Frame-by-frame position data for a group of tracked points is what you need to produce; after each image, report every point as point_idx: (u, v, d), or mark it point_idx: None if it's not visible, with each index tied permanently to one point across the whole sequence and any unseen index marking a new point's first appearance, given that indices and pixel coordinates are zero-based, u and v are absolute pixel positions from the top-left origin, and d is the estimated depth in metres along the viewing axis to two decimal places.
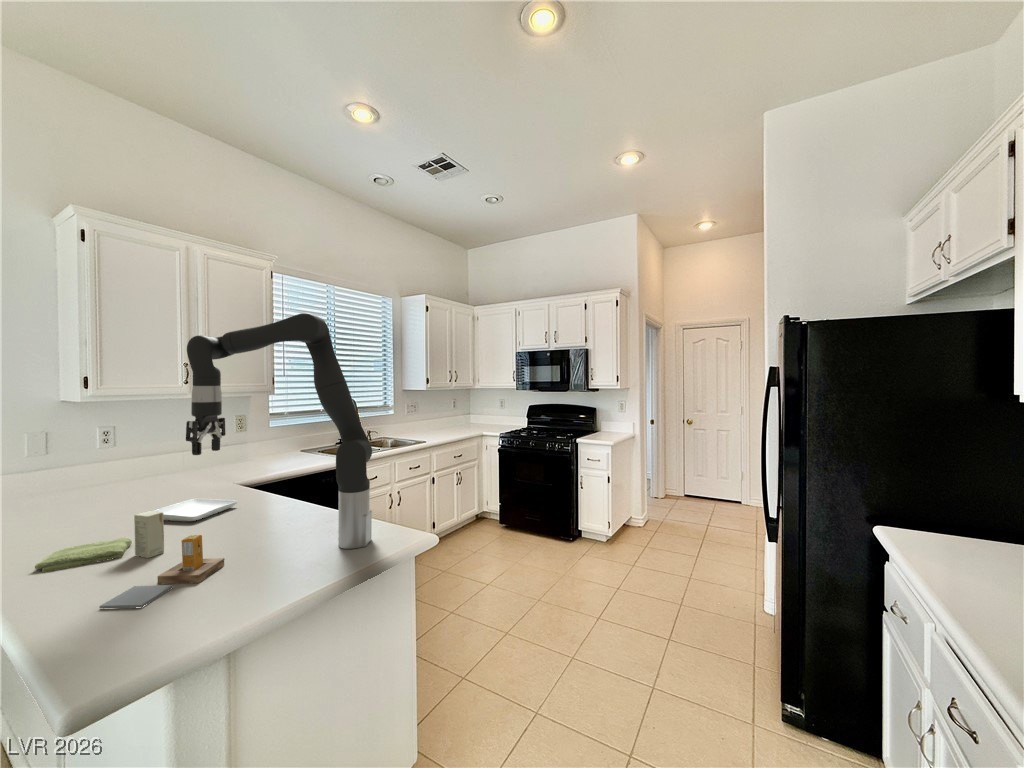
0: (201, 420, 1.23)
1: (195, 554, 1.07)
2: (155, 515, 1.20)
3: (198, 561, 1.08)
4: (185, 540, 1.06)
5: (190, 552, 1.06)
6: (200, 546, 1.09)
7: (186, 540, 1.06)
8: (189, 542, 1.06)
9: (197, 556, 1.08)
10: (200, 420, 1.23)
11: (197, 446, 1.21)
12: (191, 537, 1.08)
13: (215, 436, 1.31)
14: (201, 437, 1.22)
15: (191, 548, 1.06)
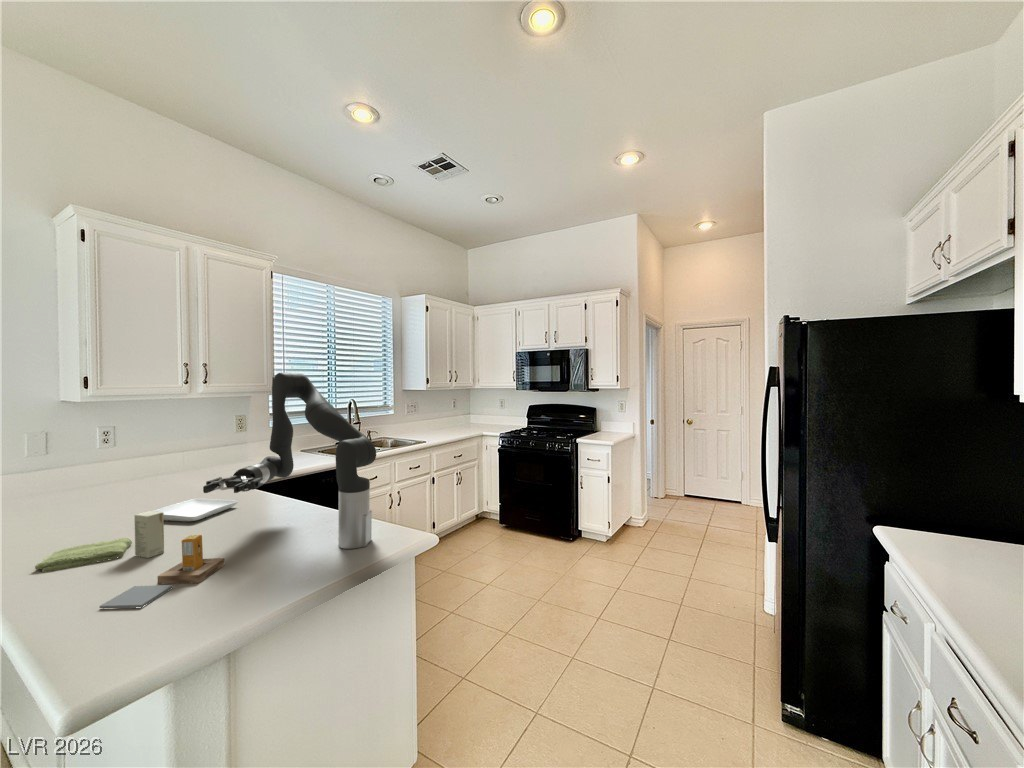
0: None
1: (195, 554, 1.07)
2: (155, 515, 1.20)
3: (198, 561, 1.08)
4: (185, 540, 1.06)
5: (190, 552, 1.06)
6: (200, 546, 1.09)
7: (186, 540, 1.06)
8: (189, 542, 1.06)
9: (197, 556, 1.08)
10: None
11: None
12: (191, 537, 1.08)
13: None
14: (217, 481, 1.24)
15: (191, 548, 1.06)
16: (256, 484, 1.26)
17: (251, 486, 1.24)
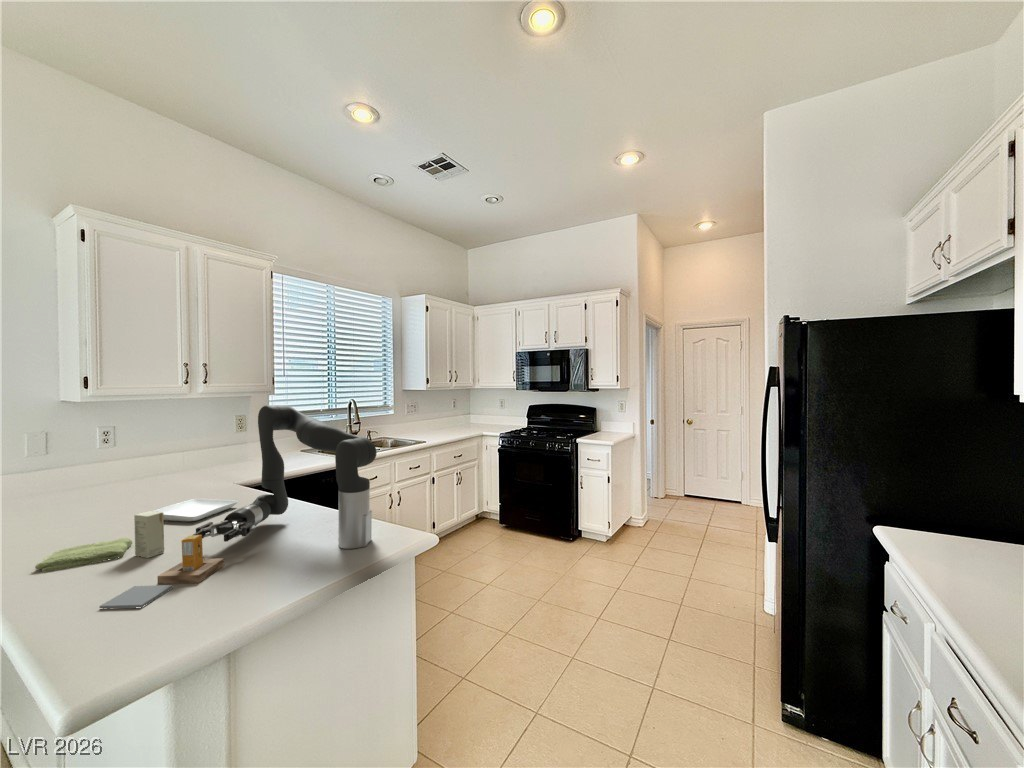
0: None
1: (195, 554, 1.07)
2: (155, 515, 1.20)
3: (198, 561, 1.08)
4: (185, 540, 1.06)
5: (190, 552, 1.06)
6: (200, 546, 1.09)
7: (186, 540, 1.06)
8: (189, 542, 1.06)
9: (197, 556, 1.08)
10: None
11: None
12: (191, 537, 1.08)
13: None
14: (207, 527, 1.20)
15: (191, 548, 1.06)
16: (248, 530, 1.22)
17: (242, 533, 1.19)
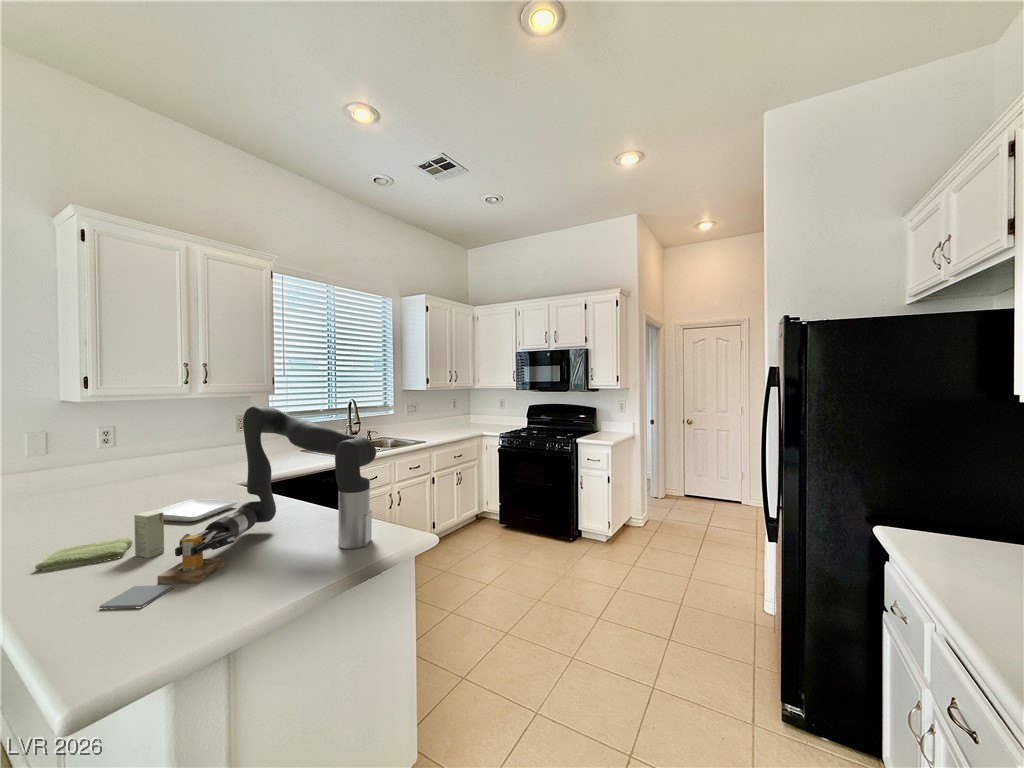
0: None
1: None
2: (155, 515, 1.20)
3: (198, 561, 1.08)
4: (185, 540, 1.06)
5: (190, 552, 1.06)
6: None
7: (186, 540, 1.06)
8: (190, 542, 1.06)
9: (198, 556, 1.08)
10: None
11: (181, 546, 1.08)
12: (191, 537, 1.08)
13: None
14: None
15: None
16: (221, 542, 1.12)
17: (212, 546, 1.10)
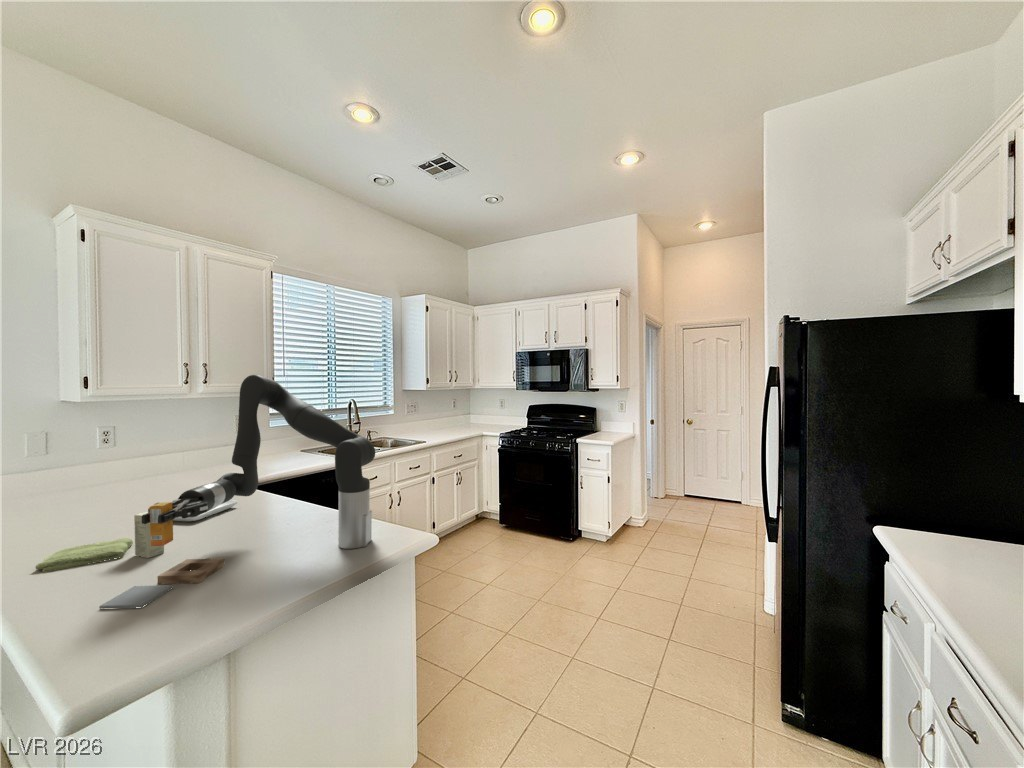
0: None
1: None
2: None
3: (167, 530, 1.01)
4: (153, 507, 1.00)
5: None
6: None
7: (154, 507, 1.00)
8: (157, 509, 1.00)
9: (166, 525, 1.01)
10: None
11: None
12: (160, 504, 1.01)
13: None
14: None
15: None
16: (193, 511, 1.05)
17: (182, 514, 1.03)
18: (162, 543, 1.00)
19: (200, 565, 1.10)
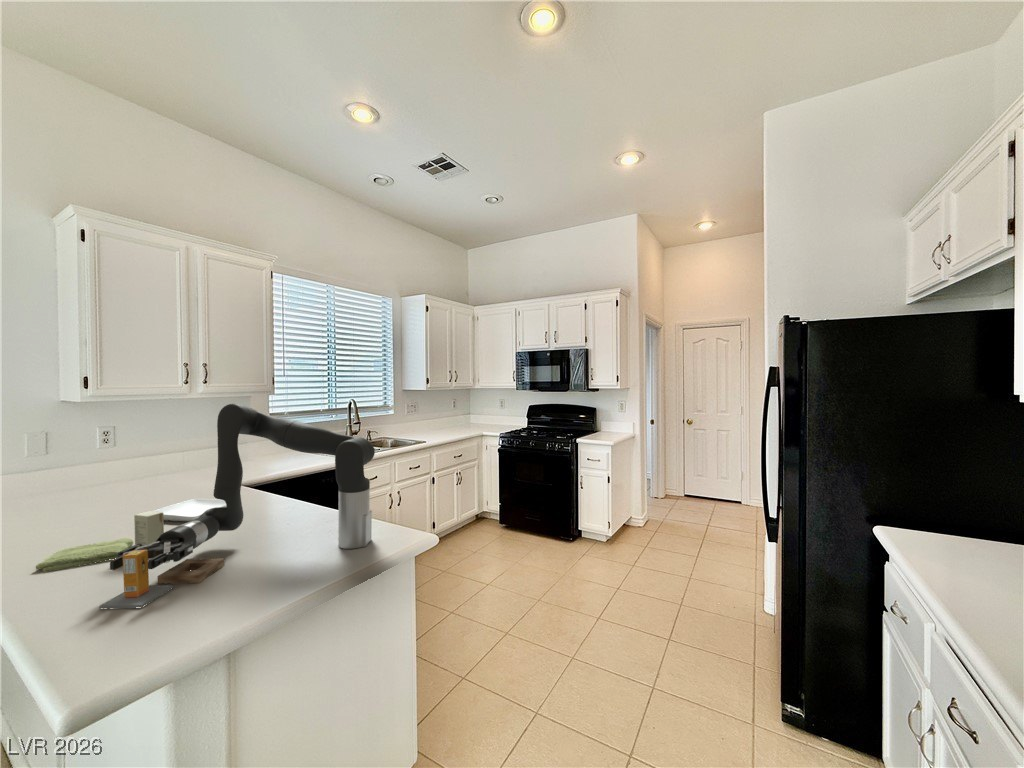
0: None
1: (138, 572, 0.95)
2: (155, 515, 1.20)
3: (142, 580, 0.96)
4: (127, 556, 0.94)
5: (132, 570, 0.94)
6: (145, 563, 0.97)
7: (128, 556, 0.94)
8: (131, 558, 0.94)
9: (141, 574, 0.96)
10: None
11: None
12: (134, 553, 0.96)
13: None
14: None
15: (134, 565, 0.94)
16: (182, 553, 1.01)
17: (174, 557, 0.99)
18: (137, 594, 0.95)
19: (200, 565, 1.10)
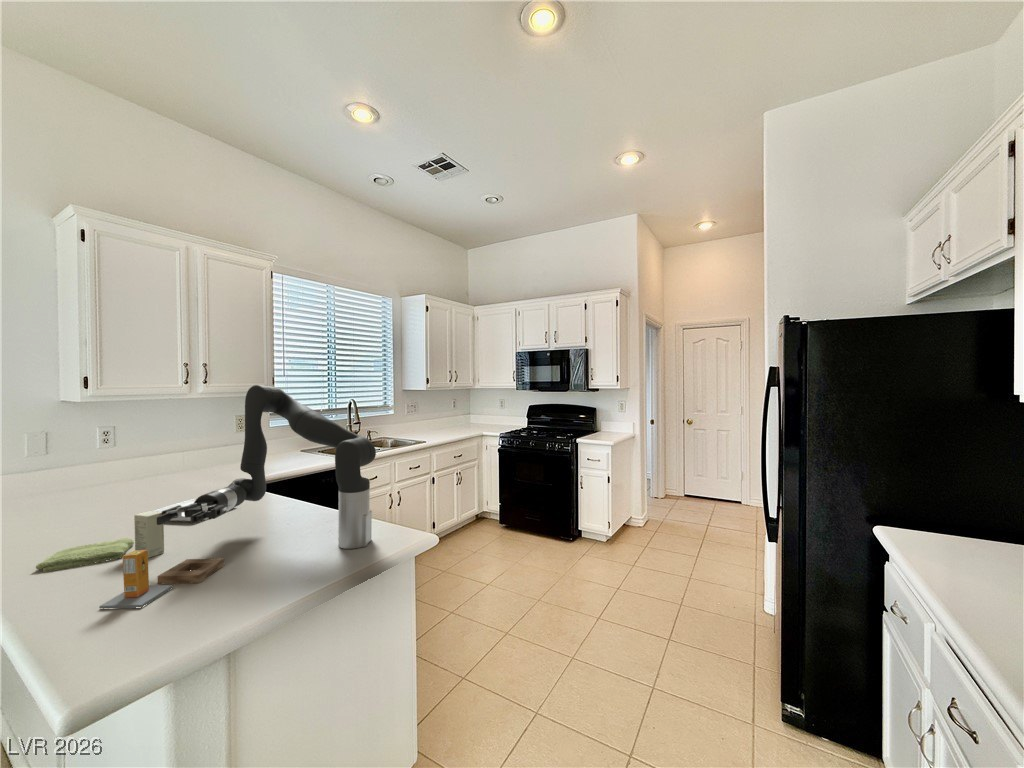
0: None
1: (138, 572, 0.95)
2: (155, 515, 1.20)
3: (142, 580, 0.96)
4: (127, 556, 0.94)
5: (132, 570, 0.94)
6: (145, 563, 0.97)
7: (128, 556, 0.94)
8: (131, 558, 0.94)
9: (141, 574, 0.96)
10: None
11: None
12: (134, 553, 0.96)
13: None
14: (174, 510, 1.12)
15: (134, 565, 0.94)
16: (218, 512, 1.14)
17: (212, 515, 1.12)
18: (137, 594, 0.95)
19: (200, 565, 1.10)
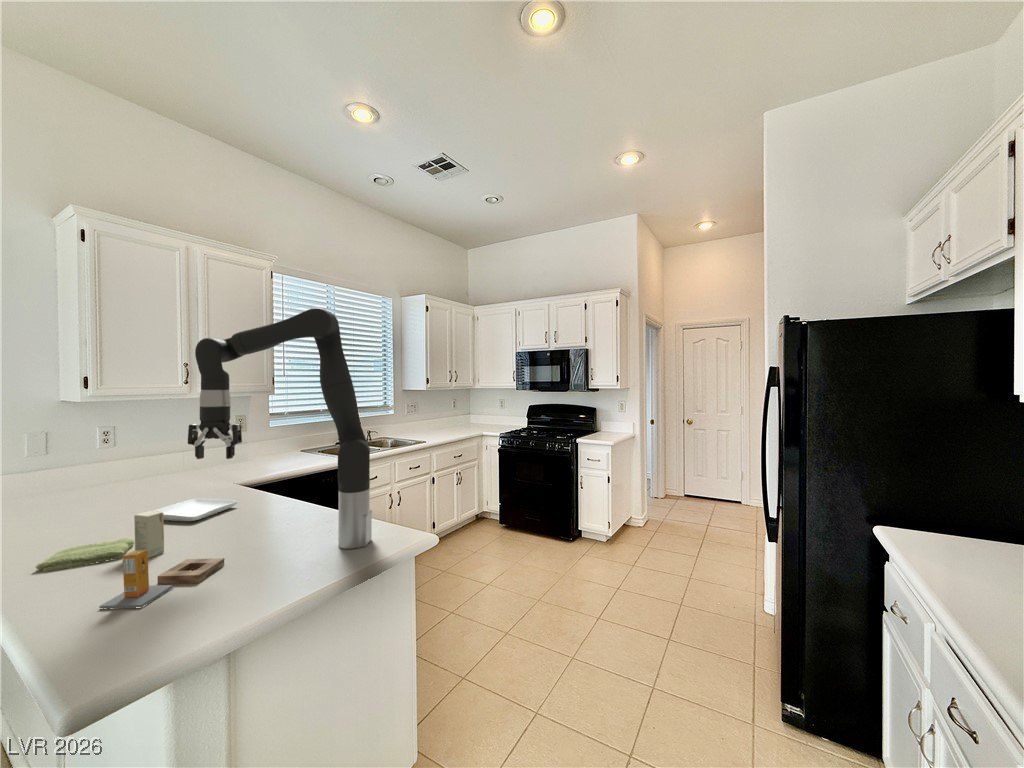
0: (200, 424, 1.22)
1: (138, 572, 0.95)
2: (155, 515, 1.20)
3: (142, 580, 0.96)
4: (127, 556, 0.94)
5: (132, 570, 0.94)
6: (145, 563, 0.97)
7: (128, 556, 0.94)
8: (131, 558, 0.94)
9: (141, 574, 0.96)
10: (200, 424, 1.22)
11: (196, 450, 1.22)
12: (134, 553, 0.96)
13: None
14: (198, 441, 1.21)
15: (134, 565, 0.94)
16: None
17: (237, 443, 1.23)
18: (137, 594, 0.95)
19: (200, 565, 1.10)
